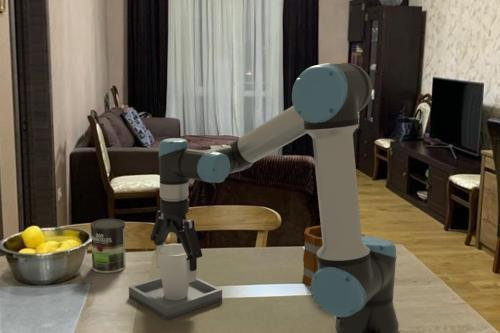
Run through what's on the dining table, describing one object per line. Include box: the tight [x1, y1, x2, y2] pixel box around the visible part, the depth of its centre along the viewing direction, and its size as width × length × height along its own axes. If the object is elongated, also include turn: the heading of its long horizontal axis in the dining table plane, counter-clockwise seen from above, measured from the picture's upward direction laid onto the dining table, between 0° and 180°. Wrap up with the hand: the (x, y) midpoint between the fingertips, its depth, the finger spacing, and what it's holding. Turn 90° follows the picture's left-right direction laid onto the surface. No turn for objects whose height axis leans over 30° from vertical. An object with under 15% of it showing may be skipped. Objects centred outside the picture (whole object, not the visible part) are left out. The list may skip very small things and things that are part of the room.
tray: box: [128, 276, 223, 320], centre depth 161 cm, size 18×18×3 cm
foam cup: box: [157, 243, 189, 300], centre depth 160 cm, size 10×9×13 cm
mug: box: [301, 224, 365, 288], centre depth 174 cm, size 20×14×15 cm
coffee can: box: [90, 218, 127, 274], centre depth 182 cm, size 10×10×14 cm
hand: (175, 274), depth 160 cm, fingers open, 13 cm apart
